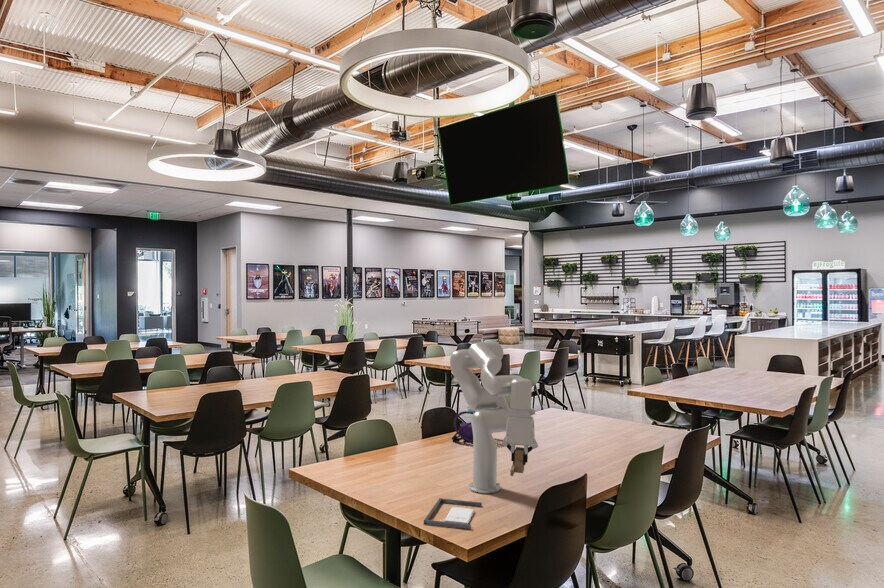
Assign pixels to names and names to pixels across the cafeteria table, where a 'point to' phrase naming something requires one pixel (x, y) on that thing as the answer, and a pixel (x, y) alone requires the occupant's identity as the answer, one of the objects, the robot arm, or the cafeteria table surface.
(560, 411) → the cafeteria table surface
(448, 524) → the bay
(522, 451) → the pusher
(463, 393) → the robot arm
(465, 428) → the decorative bottle
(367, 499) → the cafeteria table surface
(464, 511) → the external hard drive
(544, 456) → the cafeteria table surface
